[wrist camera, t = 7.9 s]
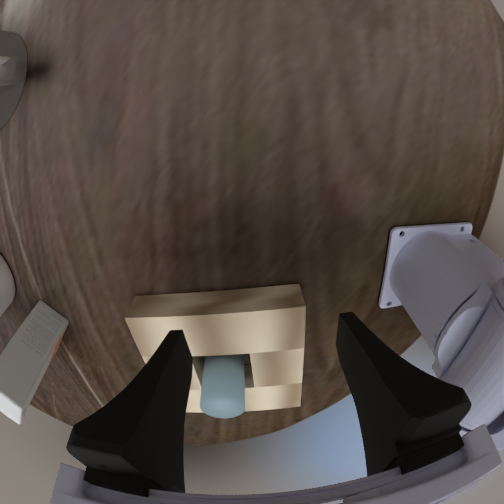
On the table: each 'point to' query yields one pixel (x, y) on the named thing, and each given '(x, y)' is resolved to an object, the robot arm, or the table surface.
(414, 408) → the robot arm
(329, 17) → the table surface
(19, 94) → the coffee mug
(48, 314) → the skincare box
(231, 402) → the peg
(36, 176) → the table surface
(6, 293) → the pill bottle
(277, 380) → the socket block
